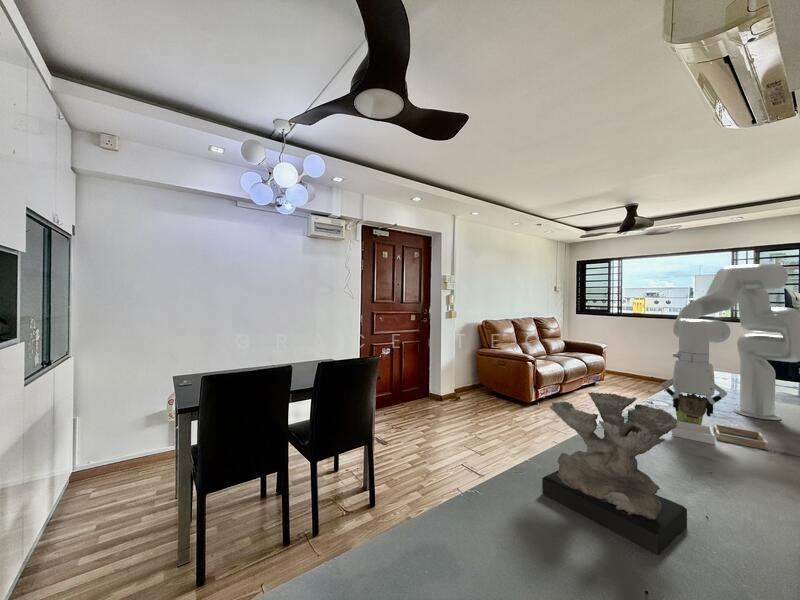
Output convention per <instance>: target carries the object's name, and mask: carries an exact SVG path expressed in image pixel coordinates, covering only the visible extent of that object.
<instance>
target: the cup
mask: <svg viewBox="0 0 800 600" xmlns="http://www.w3.org/2000/svg"><path fill="white" fill-rule="evenodd" d="M701 396H702V395H696V394H689V393H686V395H684V394H683V393H682V392H681V393H680V394H679V396H678V399H679V406H680V410H681V411H682V412H683V413H684V414H686V415H685V418H686V419H687V420H689V421H693V422H698V421H699V420H700V418H699V417H701V416H703V417H704V415H705V414H706V411H707V403H708V399H707V398H706V396H702V397H701Z"/></svg>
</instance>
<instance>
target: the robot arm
mask: <svg viewBox="0 0 800 600" xmlns="http://www.w3.org/2000/svg"><path fill="white" fill-rule="evenodd" d="M788 280H789V273H788V270H787V269H786V267H784V266H783V265H781V264H768V263H767V264H766V263H765V264H763V263H759V264H756V263H755V264H754V263H753V264H741V265H740V264H739V265H730V266H724V267H722V268H720V269H718V271H717V272H716V273H715V275H714V277H713V280H712V281H711V284H710V285H709V288H708V289H707V291H706V293H705V295H703V296H701V297H698V298H697V299H695V300H693V301H691V302H689V303H688V304H687V305H685V306H684V307H683V308H682V309H681V310H680V311H679V313H678V315H677V317H676V319H675V322H674V324H673V334H674V336H675V337H677V338H678V351H677V352H672V357H674V358H677V360H675V362H674V367H673V372H672V373H673V375H672V378H670V379H668V380H666V381H664V382H662V383H661V387H662V388H663V389H664V390H665V392H666V393H668V394H669V396H671V397H672V399H673V401H672V408H676V410H675V412H676V411H679V399H678V396H679V394H681V393H682V394H683V393H684V394H690V395H691V394H695V395H696V396H699V395H700V396H702V397H705V398H707V399H708V403H707V408H706V412H705V414H706V416H707V417H709V418H710V417H711V415H713V414H714V404H716V403H717V402H720V400H722V399H724V398H725V397H726V396H728V392H727V391H726V390H724V389H723V388H722V387H720V386H719V385H717V384H716V383H715V372H714V366H713V364H712V363H710V343H715V344H717V343H723V342H725V341H727V340H728V339H729V337H730V335H731V328H730V326H729V325H728V324H727V323H726V322H725V321H722V320H718V319H705V318H701V317H704V316H708V315H711V314H716V313H721V312H725V311H728V310H731V309H732V308H735V306H736V305H737V304H738V313H739V322H740V326H741V327H742V329H744V330H746V331H749V332H760V333H745V334H743V335H741V336H739V337H738V339H737V340H736V341H737V342H736V344H737V346H736V347H737V350H738V351H737V352H738V357H739V369H740V370H739V371H740V372H739V406H736V407H733V411H734V412H735V413H736V414H740V415H742V416H745V417H746V416H747V417H748V418H749V417H751V418H755V419H760V420H767V421H780V420H781V419H782V416H781V415H780V414H779V413H776V375H777V374H776V370H775V369H774V367H773V366H772V364H771V363H770V362H769V361H779V362H787V363H788V362H789V363H798V362H800V312H799V311H798V310H797V309H795V308H792V307H783V306H782V307H779V306H778V307H776V306H775V307H774V306H772V305H771V300H770V294H769V293H768V291H767V290H774V289H780V288H783V287H784V286H785V285H786V284H787V283H788ZM765 333H766V334H765ZM767 333H768V334H767ZM769 333H772V334H769ZM773 333H774V334H773ZM777 334H779V335H777ZM670 385H672V388H673V390H674V391H673V390H672V389H671V388H670V387H669V386H670ZM715 391H717V392H718V394H717V395H715ZM714 395H715V396H714ZM712 396H713V397H712Z"/></svg>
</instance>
